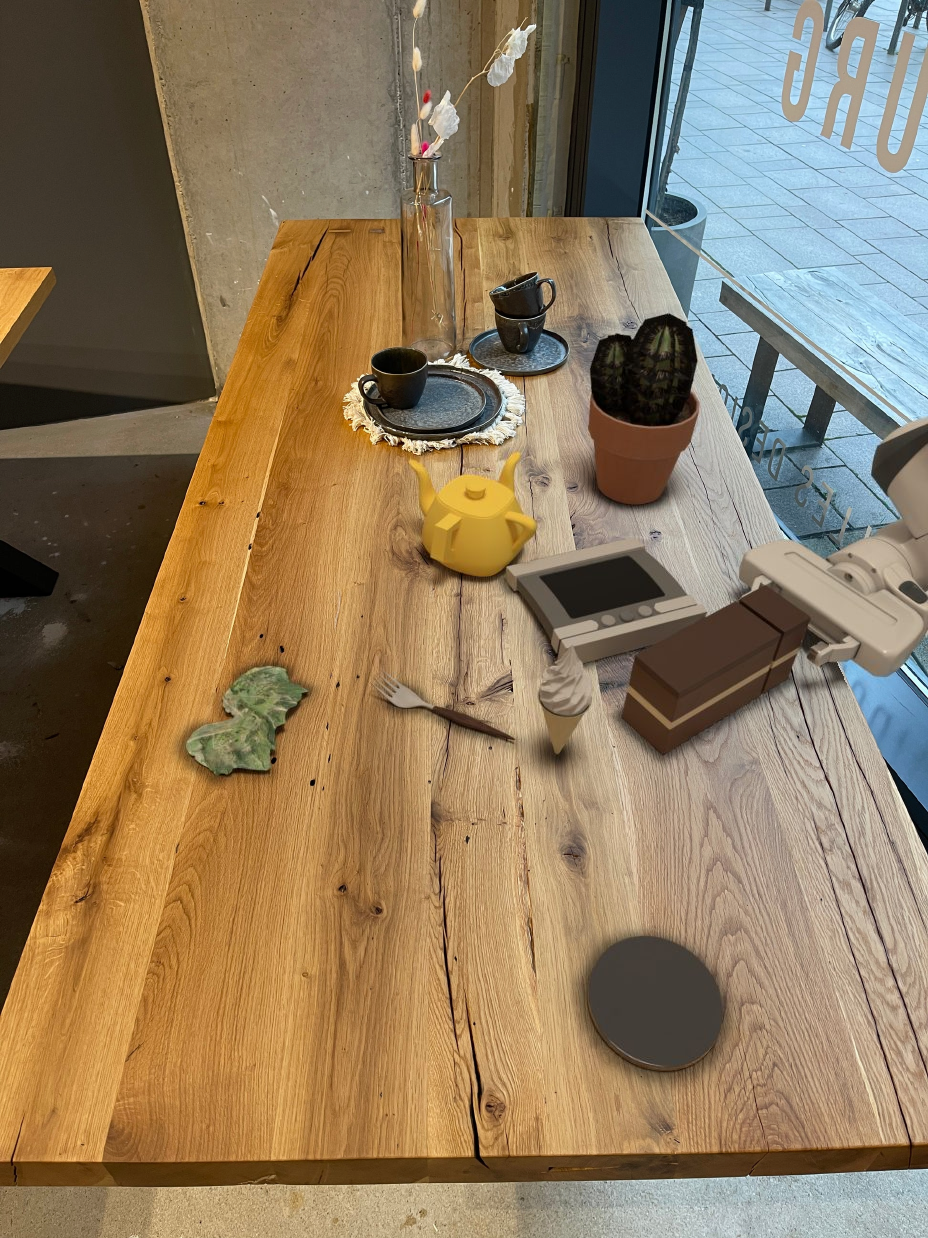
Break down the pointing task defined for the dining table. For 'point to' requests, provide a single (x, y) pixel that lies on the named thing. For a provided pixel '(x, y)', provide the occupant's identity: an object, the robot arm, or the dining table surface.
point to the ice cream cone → (565, 697)
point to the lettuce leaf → (247, 722)
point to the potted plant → (642, 407)
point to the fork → (433, 707)
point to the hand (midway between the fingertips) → (777, 631)
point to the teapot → (473, 521)
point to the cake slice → (778, 630)
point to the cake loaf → (699, 676)
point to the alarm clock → (604, 599)
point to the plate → (655, 1003)
